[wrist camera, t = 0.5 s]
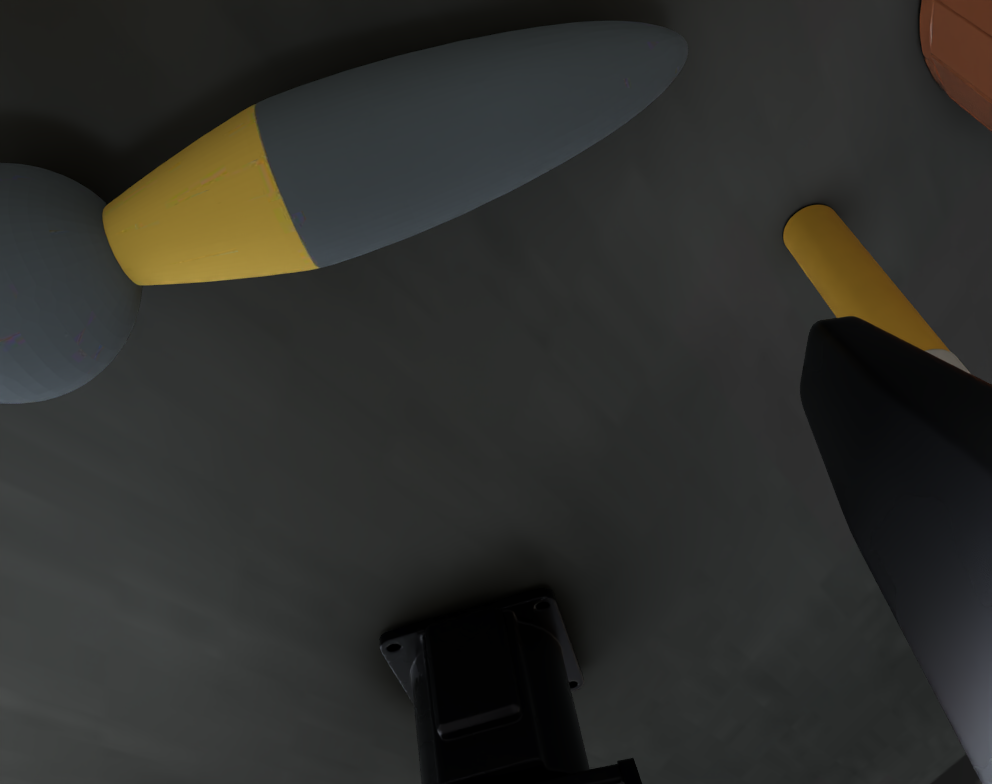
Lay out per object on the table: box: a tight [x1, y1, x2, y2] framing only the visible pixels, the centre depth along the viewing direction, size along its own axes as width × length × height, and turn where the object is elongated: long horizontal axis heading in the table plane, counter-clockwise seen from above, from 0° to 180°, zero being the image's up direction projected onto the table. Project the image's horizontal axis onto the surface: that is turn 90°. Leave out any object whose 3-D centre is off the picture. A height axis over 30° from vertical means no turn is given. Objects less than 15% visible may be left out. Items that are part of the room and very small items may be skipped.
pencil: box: [783, 205, 970, 374], centre depth 23 cm, size 2×2×7 cm
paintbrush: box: [0, 21, 688, 404], centre depth 20 cm, size 20×5×5 cm, turn 109°
